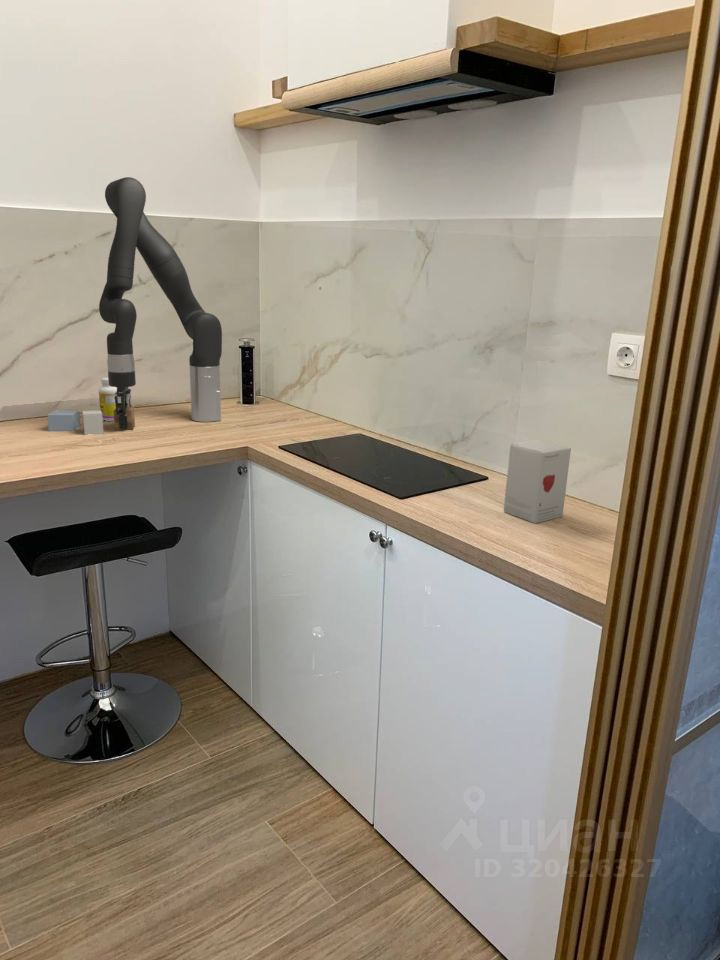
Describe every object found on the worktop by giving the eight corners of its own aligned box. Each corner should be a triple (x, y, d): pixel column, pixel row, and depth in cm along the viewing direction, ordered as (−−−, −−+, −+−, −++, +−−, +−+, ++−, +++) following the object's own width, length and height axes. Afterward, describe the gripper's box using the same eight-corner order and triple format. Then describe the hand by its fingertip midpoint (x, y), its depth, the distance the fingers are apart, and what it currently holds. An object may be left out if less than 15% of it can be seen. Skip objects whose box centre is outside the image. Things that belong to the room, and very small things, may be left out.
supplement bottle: (101, 417, 228) (98, 376, 224) (123, 416, 230) (120, 376, 226) (100, 422, 222) (97, 380, 218) (123, 421, 224) (120, 380, 220)
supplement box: (535, 524, 146) (542, 452, 141) (502, 512, 153) (508, 443, 148) (564, 516, 151) (572, 447, 147) (531, 504, 158) (538, 438, 153)
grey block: (102, 430, 212) (100, 410, 210) (103, 434, 208) (102, 413, 206) (83, 431, 210) (82, 411, 208) (85, 435, 206) (83, 414, 204)
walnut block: (135, 426, 217) (133, 407, 216) (132, 430, 213) (131, 410, 211) (117, 426, 217) (116, 407, 215) (114, 430, 212) (113, 410, 210)
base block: (80, 426, 216) (79, 410, 214) (73, 432, 209) (72, 415, 208) (56, 426, 215) (54, 410, 214) (48, 431, 209) (47, 414, 207)
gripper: (131, 373, 203) (134, 432, 208) (138, 366, 217) (141, 421, 222) (103, 372, 202) (107, 432, 207) (112, 365, 216) (115, 421, 221)
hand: (124, 426), depth 215 cm, fingers closed on walnut block, 5 cm apart
